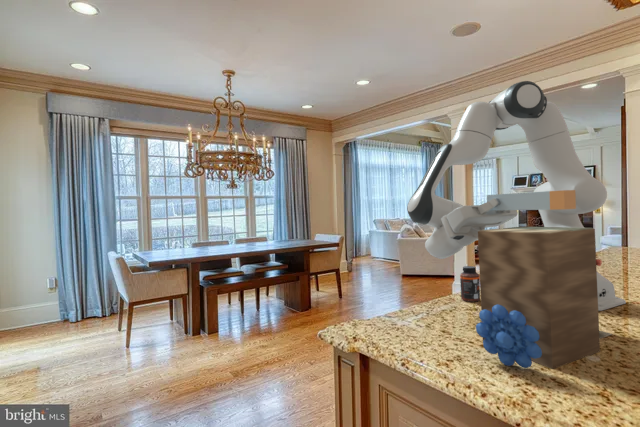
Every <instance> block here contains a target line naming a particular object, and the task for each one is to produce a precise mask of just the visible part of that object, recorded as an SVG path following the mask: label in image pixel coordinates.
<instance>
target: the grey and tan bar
mask: <svg viewBox="0 0 640 427" xmlns="http://www.w3.org/2000/svg"><path fill="white" fill-rule="evenodd" d="M494 198H498V199H499V201H500V202H501V204H500V205H499V206H497V207H494V208H492V209H490V210H516V211H537V210H538V211H539V210H558V209H576V194H575V190H561V191H545V192H534V191H533V192H531V191H530V192H516V193H515V192H514V193H513V192H512V193H501V194H500V193H498V194H486V202H489V201H490V200H492V199H494Z"/></svg>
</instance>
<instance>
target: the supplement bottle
mask: <svg viewBox="0 0 640 427" xmlns="http://www.w3.org/2000/svg"><path fill="white" fill-rule="evenodd" d="M462 271H463V272H461V273H460V274H459V278H460V279H459V281H460V297H461V298H460V299H461V300H462V301H465V302H470V303H472V302H473V303H475V302H479V301H481V292H480V274H479V273H478V272H477V268H476V266H472V265H467V266H466V265H465V266H463V267H462Z"/></svg>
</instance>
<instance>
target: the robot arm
mask: <svg viewBox="0 0 640 427" xmlns="http://www.w3.org/2000/svg"><path fill="white" fill-rule="evenodd" d="M459 120H460V121H459V122H458V125H457V127H456V130H455V132H454V134H453V135H454V136H453V137H452V139H451V140H450V142H449V143H446V144H443V145H442V146H441V147H440V148H439V149H438V151H436V154H435V156H433V159H432V160H431V162H430V164H429V166H428V168H427V170H426V171H425V174H424V176H423V178H422V180H421V181H420V183H419V185H418V187H417V188H416V190H415V191H414V193H413V194H412V195H411V197H410V199H409V201H408V203H407V205H406V206H407V208H406V211H407V213H408V216H409V218H410V219H411V221H412V222H413V223H416V224H421V225H426V226H429V227H432V228H433V231H432V234H431V235H430V236H429V237H427V239H426V241H425V242H424V247H425V250H426V252H428V253H429V255H430V256H432V257H434V258H436V259H440V260H442V259H447V258H449V257H452V256H454V255H455V254H457V253H459V252H460V251H461V250H462V249H463V248H465V247H467V246H470V245H471V244H473V243H474V242H476V241H478V231H480V230H486V228H495V227H499V226H501V225H505V223H507V222H509V221H511V220H512V219H515V217H517V216H518V214H519V213H518V210H490V209H492V208H494V207H497V206H499V205H500V204H501V202H500V201H499V199H498V198H494V199H492V200H490V201H489V202H487V201H486V202H484V203H481V204H479V205H478V204H475V205H471V204H470V205H463V204H461V203H459V202H456V201H453V200H451V199H447V198H444V197H442V196H439V195H437V194H436V190H437V187H438V186H439V184H440V182H441V180H442V178H443V177H444V174H445V172H446V171H447V169H449V168H450V167H452V166H463V165H464V166H465V165H467V166H468V165H473V164H477V163H478V162H480V161H481V160H483V159H484V158H485V157H486V156H487V154H488V152H489V150H490V147H491V145H492V141H493V138H494V133H495V131H501V130H505V129H508V128H510V127H513V126H516V125H519V127H521V128H522V130H523V131H524V135H525V137H526V141H527V145H528V148H529V151H530V152H529V153H530V155H531V159H532V160H533V165H534V166H535V168H536V169H537V170H538V171H540V172H541V173H542V174H543V176H544V177H545V178H546V180H547V182H544V183H542V184H540V185H538V186H537V187H535V189H534V190H533V192H545V191H561V190H575V194H576V209H558V210H538V213H539V214H540V217H541V218H540V219H541V221H542V223H543V227H568V228H585V227H584V225H583V223H582V221H581V219H580V216H579V215H581V214H583V215H584V214H588V213H590V212H594V211H597V210H599V209H600V208H602V206H604V204H605V203H606V201H607V198H608V191H607V188H606V186H605V185H604V183H603V182H602V181H601V180H599V179H597V178H595V177H594V176H593V175H591V174H590V172H589V171H588V170H587V169H586V167H585V165H584V164H583V163H582V161H581V159H580V158H579V157H578V155H577V154H578V153H576V149H575V146H574V144H573V141H572V138H571V135H570V132H569V127H568V126H567V122H566V120H565V118H564V116H563V114H562V112H561V110H560V108H559V107H558V105H557V104H556V103H555V102H553V101H548V98H547V96H545V94H544V91H543V90H542V88H541V87H540V86H539V85H538V84H537V83H536V82H534V81H530V80H524V81H519V82H516V83H513V84H511V85H510V86H509V87H507V88H506V89H504V90H502V91H501V92H499V93H498V94H497V95H496V96H495V97H493V99H491V100H490V101H489V102H486V101H475V102H472V103H470V104H469V105H468V106H467V107H466V109H465V110H464V112H463V114H462V116H461V119H459ZM602 264H603V261H602V260H601V259H599V258H598V259H597V258H596V267H597V266H598V267H601V266H602ZM597 293H598V312H599V311H600V312H601V311H605V310H609V309H611V308H614V307H617V306H622V305H625V304H626V302H627V301H626V300H625V299H624V298H621V297H618V296H616V289H615V286H614V283H613V282H612V281H610V280H609V279H607V278H606V277H605V276H603V275H602V274H601V273H599V272H598V271H597Z"/></svg>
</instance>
